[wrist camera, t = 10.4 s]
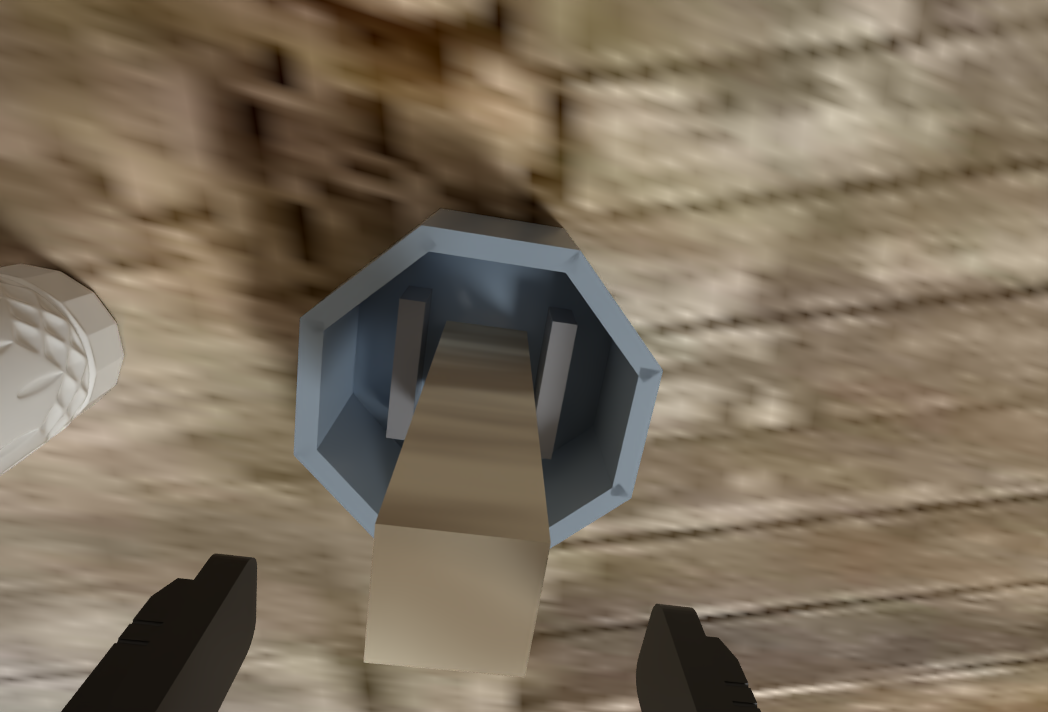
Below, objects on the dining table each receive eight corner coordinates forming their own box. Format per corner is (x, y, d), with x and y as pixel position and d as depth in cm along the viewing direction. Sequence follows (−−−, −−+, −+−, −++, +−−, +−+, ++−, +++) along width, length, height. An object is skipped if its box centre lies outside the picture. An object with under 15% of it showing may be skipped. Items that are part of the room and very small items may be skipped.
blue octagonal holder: (351, 193, 25) (305, 206, 19) (648, 242, 26) (688, 267, 20) (332, 463, 29) (290, 540, 23) (591, 496, 30) (610, 577, 24)
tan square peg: (446, 320, 26) (374, 523, 12) (526, 331, 26) (550, 542, 12) (438, 394, 27) (363, 662, 13) (515, 404, 27) (524, 677, 13)
